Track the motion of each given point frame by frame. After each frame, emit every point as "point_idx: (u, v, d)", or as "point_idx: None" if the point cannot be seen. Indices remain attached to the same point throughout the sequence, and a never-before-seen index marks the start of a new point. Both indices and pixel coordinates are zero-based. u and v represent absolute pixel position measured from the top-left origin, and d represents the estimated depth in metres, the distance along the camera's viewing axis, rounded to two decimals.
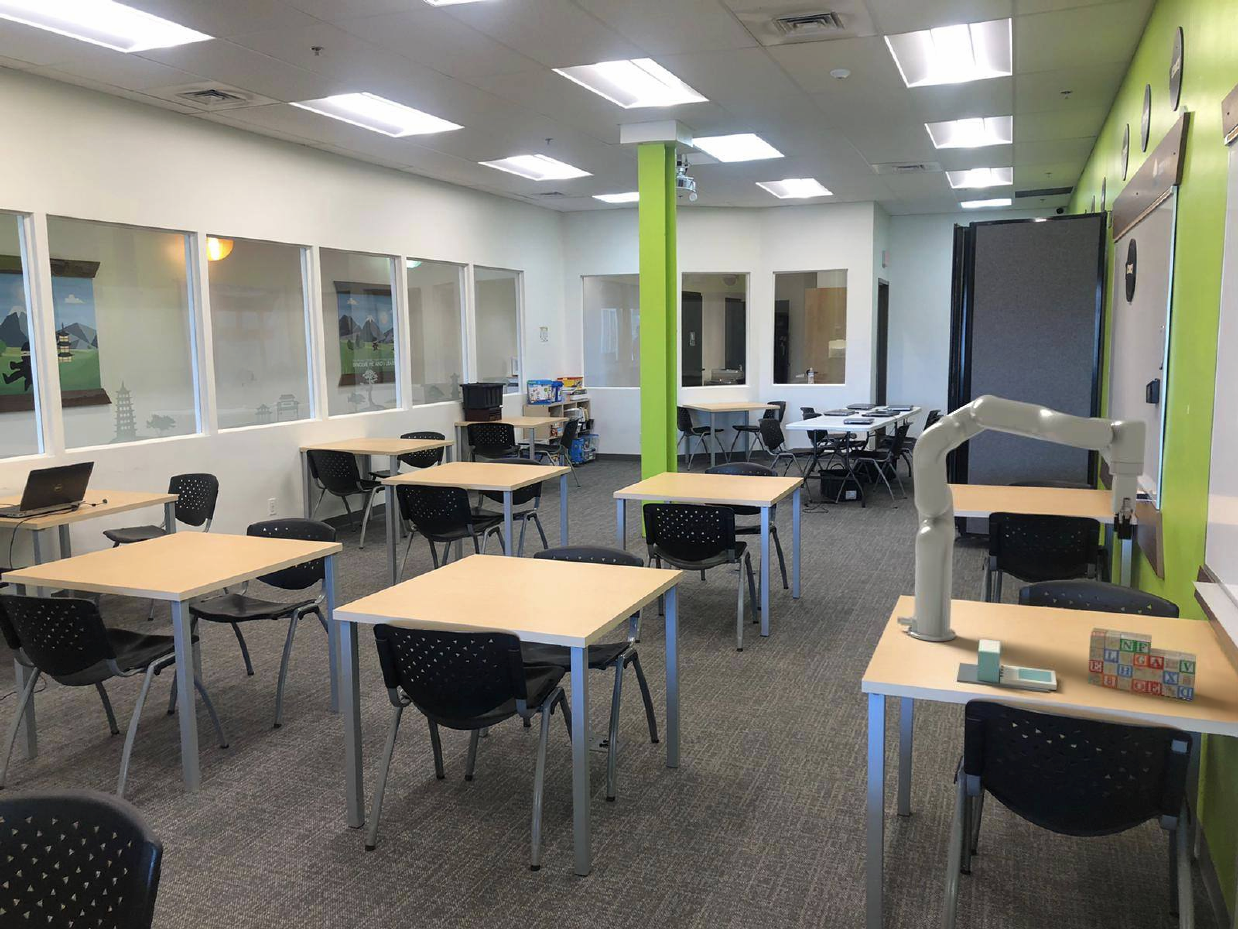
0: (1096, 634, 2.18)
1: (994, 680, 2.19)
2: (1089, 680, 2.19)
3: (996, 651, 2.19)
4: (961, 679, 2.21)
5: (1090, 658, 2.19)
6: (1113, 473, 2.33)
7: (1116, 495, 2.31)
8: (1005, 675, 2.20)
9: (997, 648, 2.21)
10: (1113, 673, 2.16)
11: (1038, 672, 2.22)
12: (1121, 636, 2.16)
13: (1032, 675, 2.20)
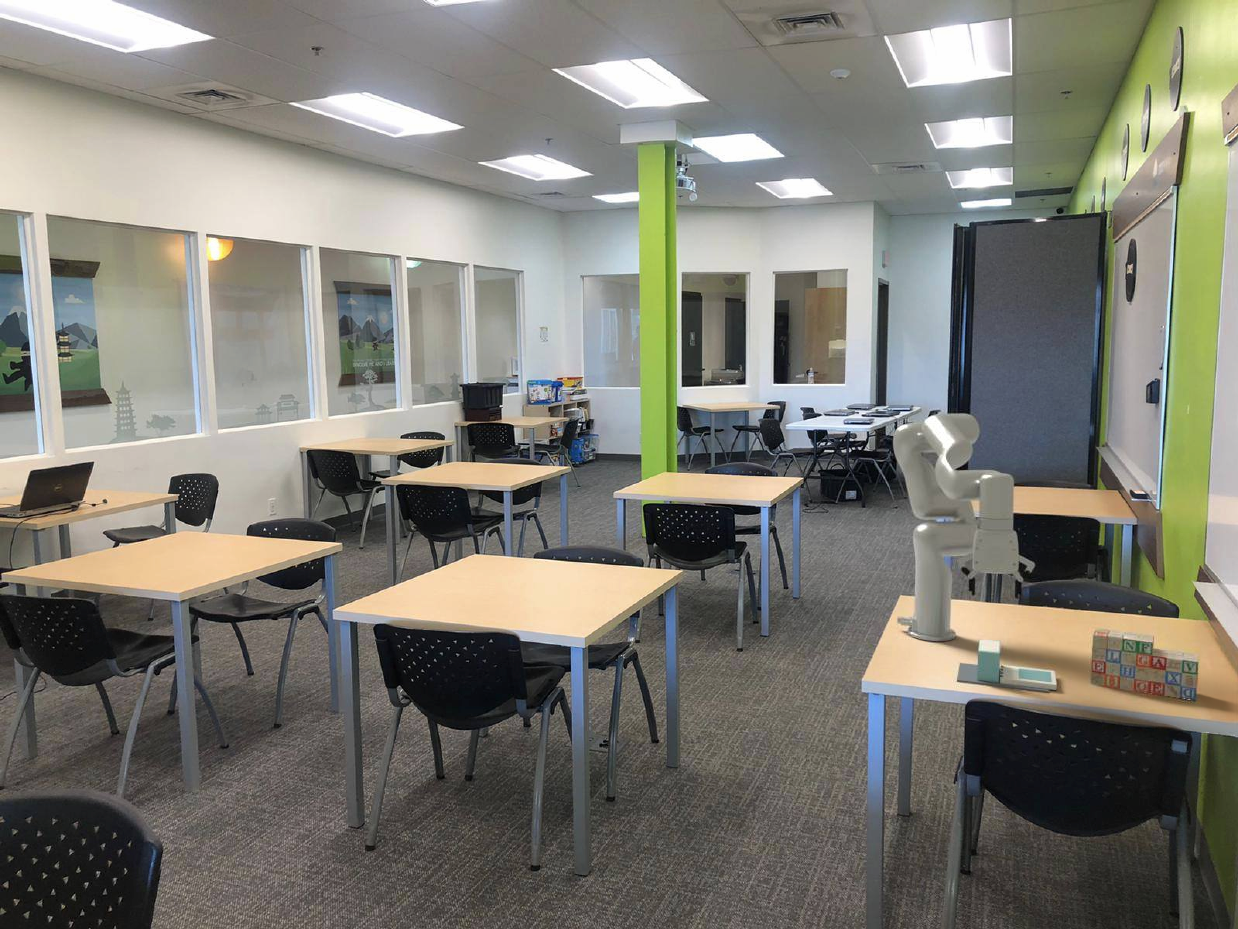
0: (1098, 635, 2.17)
1: (994, 680, 2.19)
2: (1091, 681, 2.19)
3: (996, 651, 2.19)
4: (961, 679, 2.21)
5: (1092, 658, 2.18)
6: (1005, 531, 2.18)
7: (1017, 553, 2.18)
8: (1005, 675, 2.20)
9: (997, 648, 2.21)
10: (1115, 673, 2.16)
11: (1038, 672, 2.22)
12: (1123, 636, 2.16)
13: (1032, 675, 2.20)
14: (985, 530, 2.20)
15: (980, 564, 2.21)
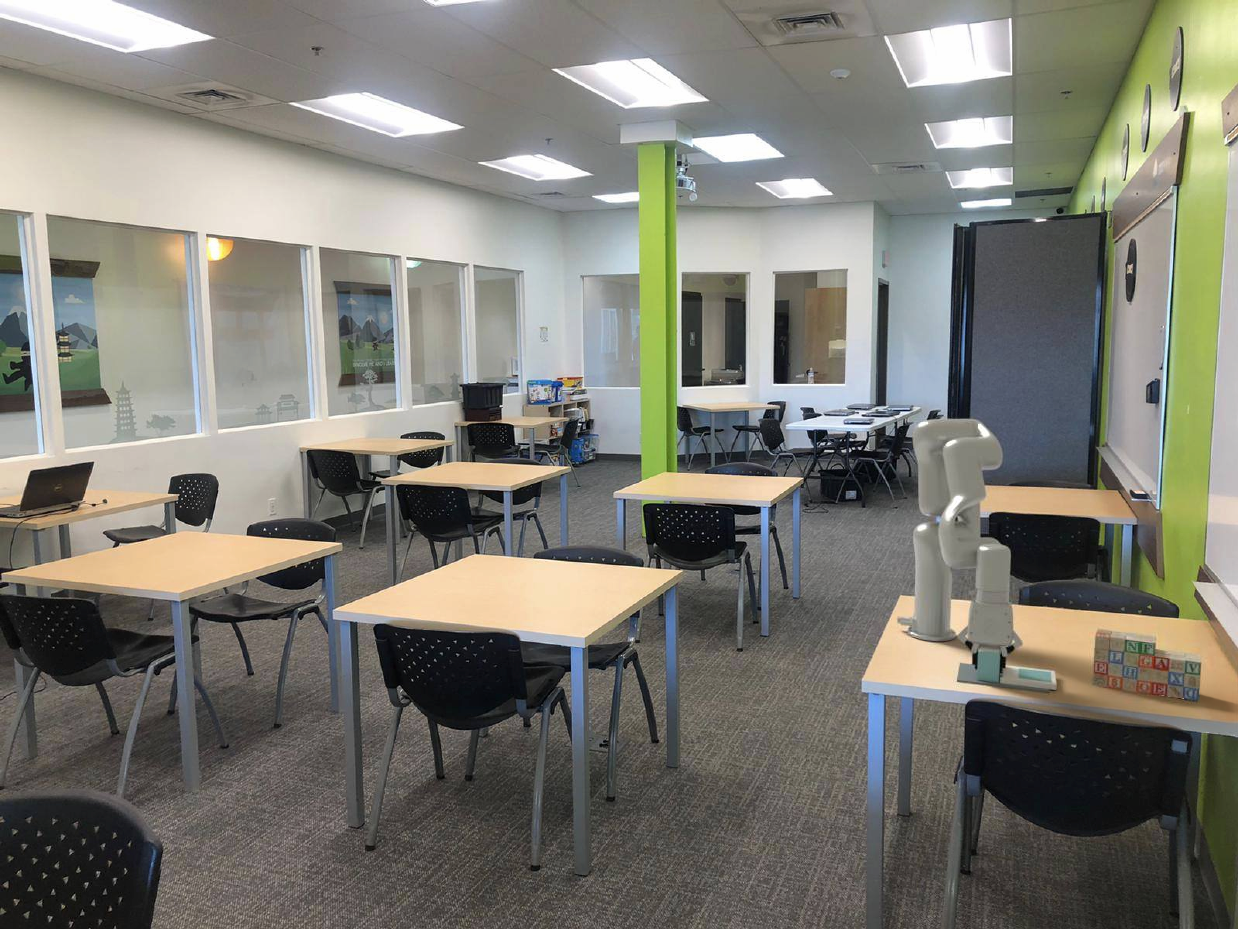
0: (1100, 636, 2.17)
1: (994, 680, 2.19)
2: (1094, 682, 2.18)
3: (996, 651, 2.19)
4: (961, 679, 2.21)
5: (1095, 660, 2.18)
6: (1001, 604, 2.19)
7: (1012, 626, 2.19)
8: (1005, 675, 2.20)
9: (997, 648, 2.21)
10: (1118, 674, 2.15)
11: (1038, 672, 2.22)
12: (1125, 637, 2.15)
13: (1032, 675, 2.20)
14: (981, 602, 2.20)
15: (975, 635, 2.22)
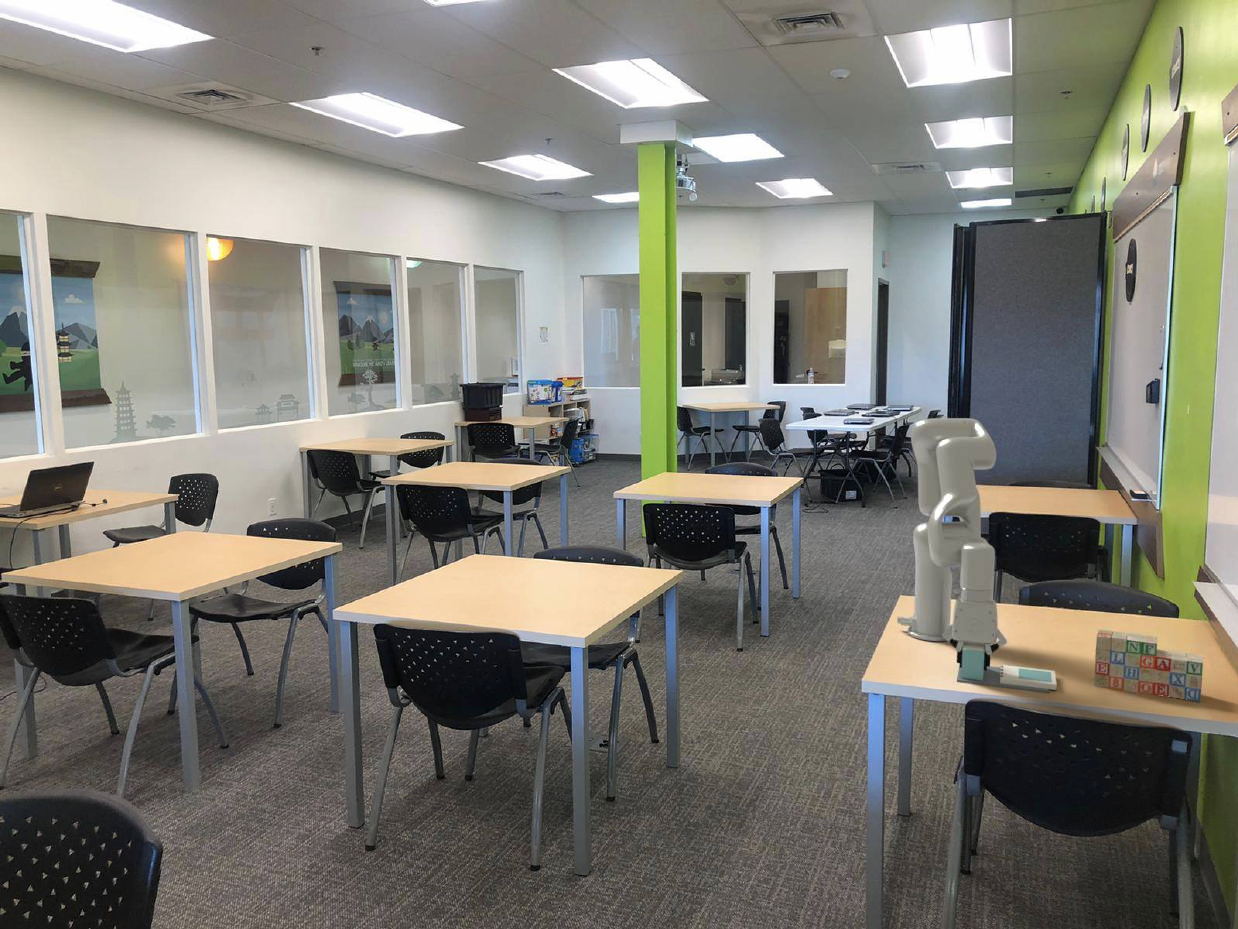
0: (1102, 636, 2.16)
1: (978, 678, 2.21)
2: (1095, 682, 2.18)
3: (980, 649, 2.21)
4: (961, 679, 2.21)
5: (1096, 660, 2.17)
6: (985, 602, 2.20)
7: (996, 624, 2.20)
8: (1005, 675, 2.20)
9: (982, 647, 2.23)
10: (1119, 675, 2.15)
11: (1038, 672, 2.22)
12: (1127, 638, 2.15)
13: (1032, 675, 2.20)
14: (965, 600, 2.22)
15: (959, 633, 2.23)
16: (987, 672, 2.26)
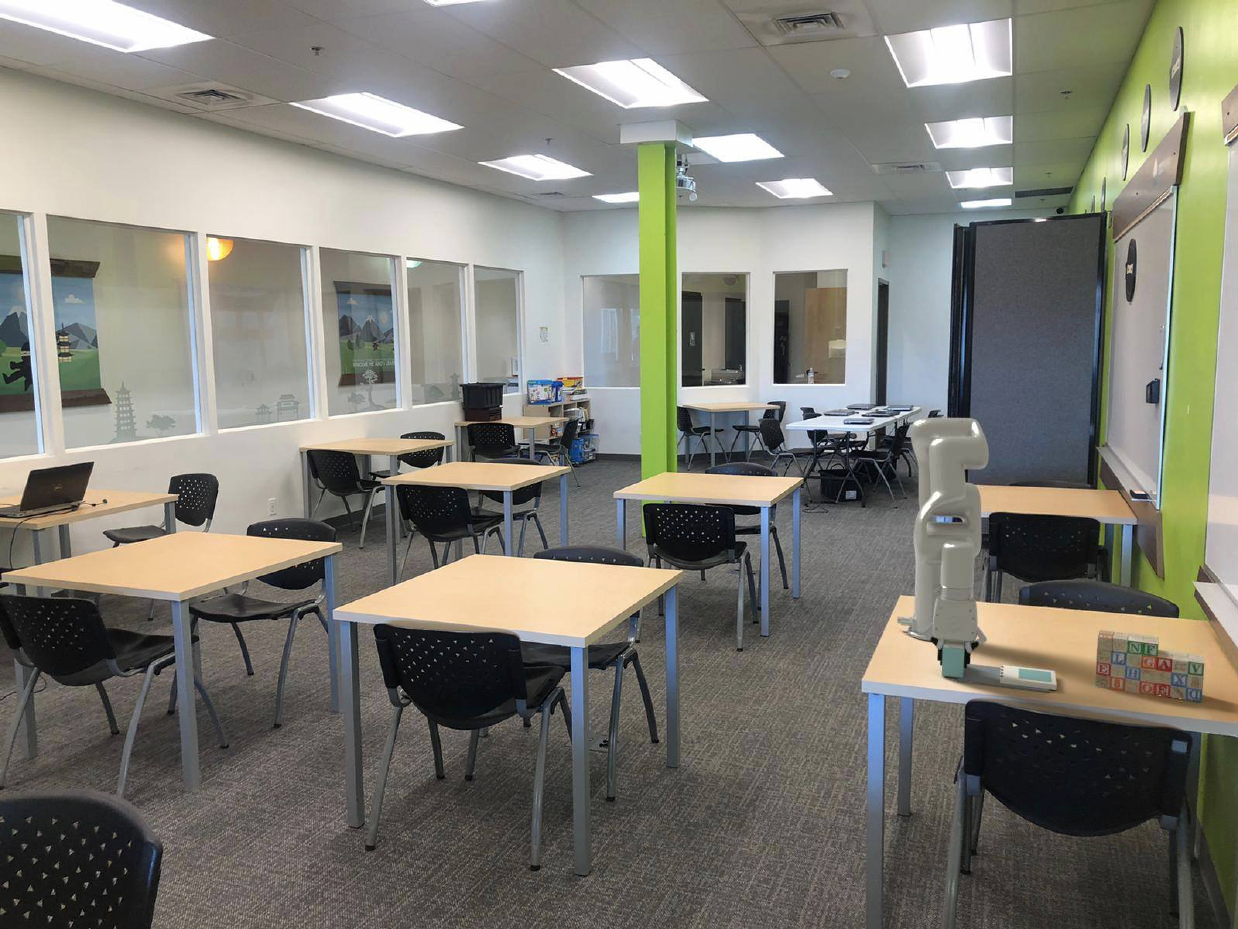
0: (1103, 637, 2.16)
1: (958, 676, 2.22)
2: (1096, 683, 2.17)
3: (960, 647, 2.22)
4: (961, 679, 2.21)
5: (1097, 661, 2.17)
6: (965, 601, 2.22)
7: (976, 622, 2.22)
8: (1005, 675, 2.20)
9: (962, 644, 2.24)
10: (1120, 675, 2.15)
11: (1038, 672, 2.22)
12: (1128, 638, 2.14)
13: (1032, 675, 2.20)
14: (945, 598, 2.23)
15: (940, 631, 2.25)
16: (987, 672, 2.26)
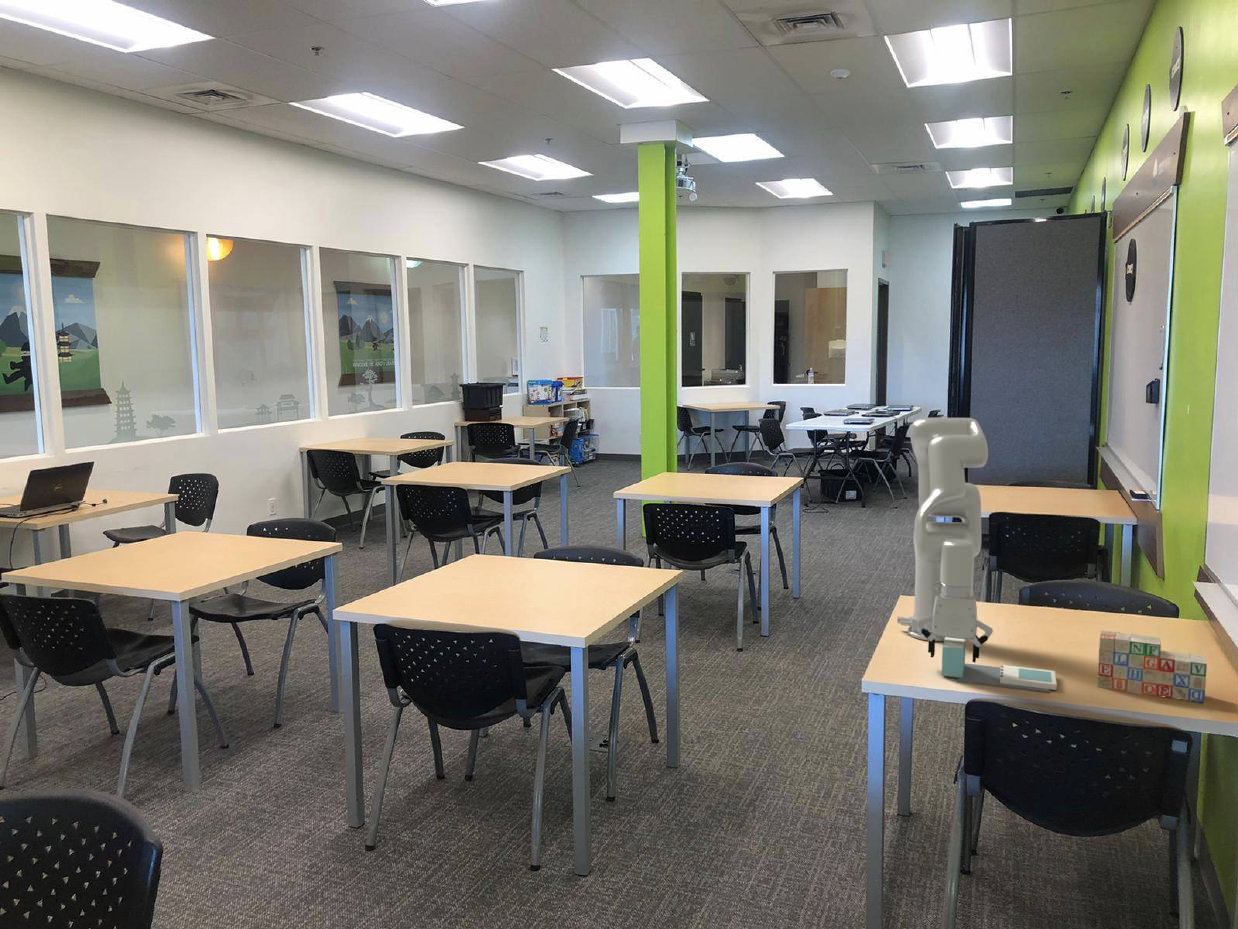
0: (1105, 638, 2.15)
1: (958, 676, 2.22)
2: (1098, 684, 2.17)
3: (960, 647, 2.22)
4: (961, 679, 2.21)
5: (1099, 662, 2.16)
6: (964, 598, 2.22)
7: (975, 620, 2.22)
8: (1005, 675, 2.20)
9: (962, 644, 2.24)
10: (1123, 676, 2.14)
11: (1038, 672, 2.22)
12: (1130, 639, 2.14)
13: (1032, 675, 2.20)
14: (945, 596, 2.23)
15: (939, 628, 2.25)
16: (987, 672, 2.26)
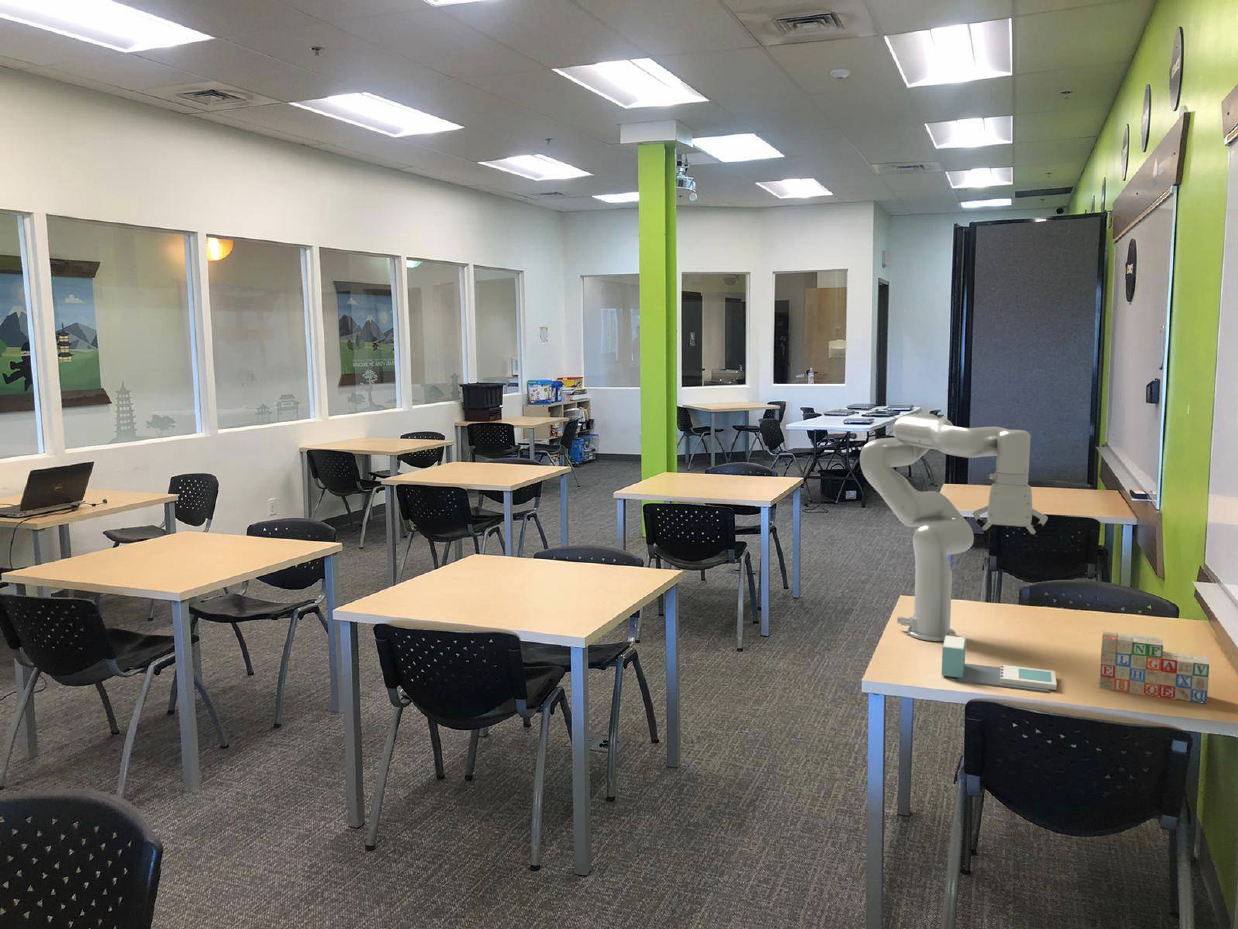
0: (1107, 638, 2.15)
1: (958, 676, 2.22)
2: (1100, 685, 2.16)
3: (960, 647, 2.22)
4: (961, 679, 2.21)
5: (1102, 662, 2.16)
6: (1020, 486, 2.28)
7: (1030, 507, 2.28)
8: (1005, 675, 2.20)
9: (962, 644, 2.24)
10: (1125, 677, 2.13)
11: (1038, 672, 2.22)
12: (1132, 640, 2.13)
13: (1032, 675, 2.20)
14: (1000, 484, 2.30)
15: (994, 516, 2.31)
16: (987, 672, 2.26)
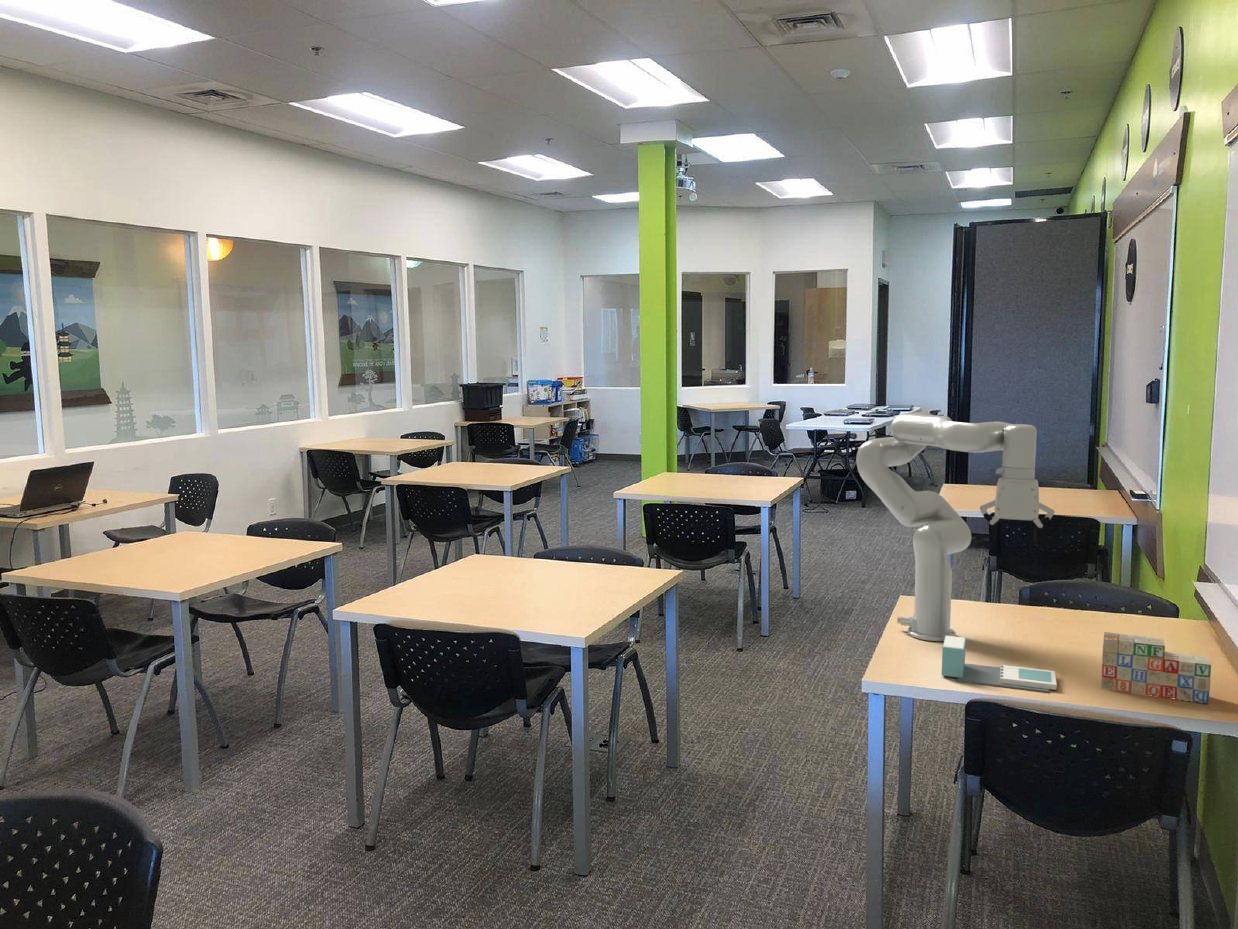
0: (1109, 639, 2.14)
1: (958, 676, 2.22)
2: (1102, 686, 2.16)
3: (960, 647, 2.22)
4: (961, 679, 2.21)
5: (1103, 663, 2.15)
6: (1027, 480, 2.29)
7: (1038, 500, 2.29)
8: (1005, 675, 2.20)
9: (962, 644, 2.24)
10: (1126, 678, 2.13)
11: (1038, 672, 2.22)
12: (1134, 640, 2.13)
13: (1032, 675, 2.20)
14: (1008, 478, 2.31)
15: (1002, 511, 2.32)
16: (987, 672, 2.26)
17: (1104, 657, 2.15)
